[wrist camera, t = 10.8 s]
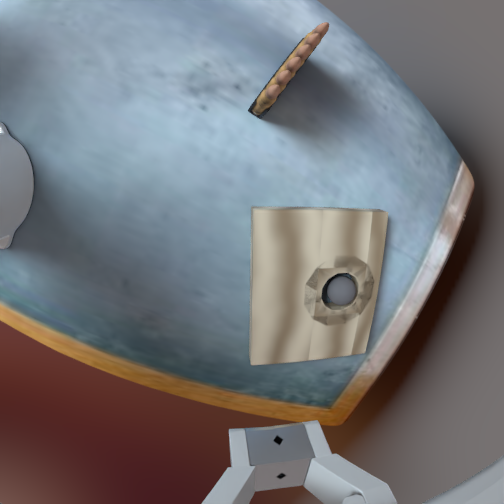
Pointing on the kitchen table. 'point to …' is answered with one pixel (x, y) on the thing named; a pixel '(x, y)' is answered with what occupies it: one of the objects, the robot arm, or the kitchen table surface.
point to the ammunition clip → (287, 71)
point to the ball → (341, 290)
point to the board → (312, 281)
